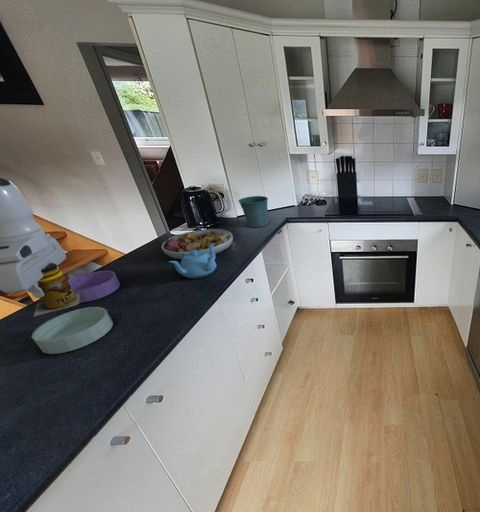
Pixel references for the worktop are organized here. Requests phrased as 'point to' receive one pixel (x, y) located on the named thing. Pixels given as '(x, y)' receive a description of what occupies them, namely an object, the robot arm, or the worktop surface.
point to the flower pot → (255, 210)
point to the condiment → (55, 291)
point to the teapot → (196, 263)
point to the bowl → (197, 242)
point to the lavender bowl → (94, 285)
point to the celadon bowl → (72, 330)
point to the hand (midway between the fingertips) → (48, 288)
